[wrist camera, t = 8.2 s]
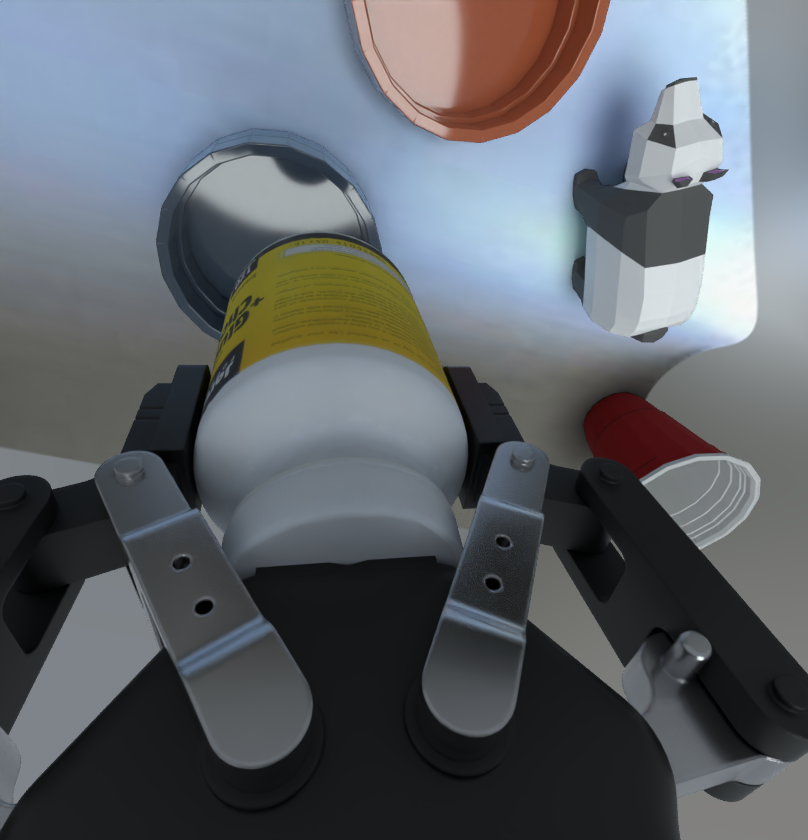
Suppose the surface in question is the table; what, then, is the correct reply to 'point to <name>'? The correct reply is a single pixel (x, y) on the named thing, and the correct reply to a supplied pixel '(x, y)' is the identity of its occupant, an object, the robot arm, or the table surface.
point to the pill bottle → (328, 415)
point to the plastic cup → (674, 466)
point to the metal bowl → (250, 213)
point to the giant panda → (651, 221)
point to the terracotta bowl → (474, 59)
